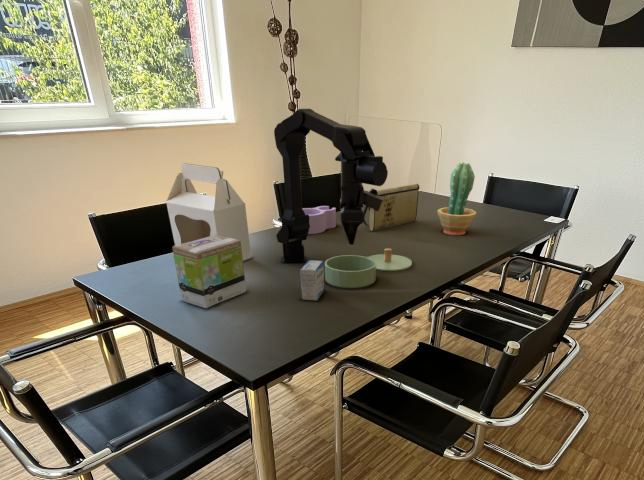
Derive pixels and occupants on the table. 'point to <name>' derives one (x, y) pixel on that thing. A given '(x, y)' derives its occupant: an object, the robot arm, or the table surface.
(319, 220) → the purple piece
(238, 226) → the gable box
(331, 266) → the pot
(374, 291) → the table surface
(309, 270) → the medicine box
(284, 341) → the table surface
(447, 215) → the potted cactus
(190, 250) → the tea box
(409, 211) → the clutch purse
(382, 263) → the pot lid
